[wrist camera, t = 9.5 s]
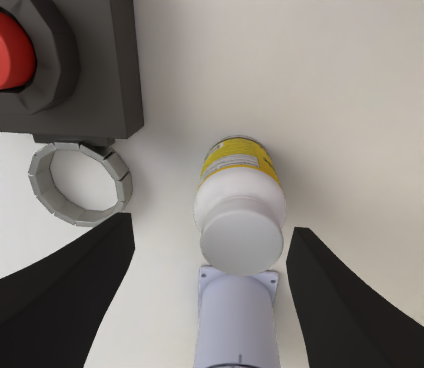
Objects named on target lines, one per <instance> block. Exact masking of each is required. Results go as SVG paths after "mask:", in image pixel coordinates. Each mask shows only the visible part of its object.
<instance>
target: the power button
mask: <svg viewBox="0 0 424 368" xmlns="http://www.w3.org/2000/svg"><path fill="white" fill-rule="evenodd" d="M34 70H35V54H34V50H33V46H32V44H31V42H30V40H29V38H28V36H27V35H26V33H25V32H24V30H23V29H22V28H21V27H20V25H19V24H18V23H17V22H15V21H14V20H13V19H12V18H11V17H9V16H8V15H6V14H4V13H3V12H0V89H6V88H13V87H18V86H22V85H24V84H26V83H27V82H28V81H29V80H30V79H31V77H32V76H33V73H34Z"/></svg>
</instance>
